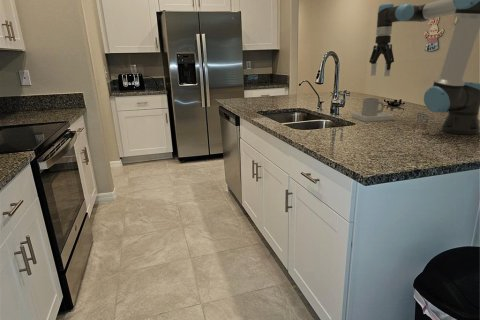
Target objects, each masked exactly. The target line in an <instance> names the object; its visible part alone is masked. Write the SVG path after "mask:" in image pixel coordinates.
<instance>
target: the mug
mask: <svg viewBox="0 0 480 320" xmlns="http://www.w3.org/2000/svg"><path fill="white" fill-rule="evenodd" d="M379 105H381V108H380V110H379ZM361 112H362V116H366V117H372V116H377V113H381V112H384V102H383V101H380V100H379V98H375V97H366V98H363V101H362V110H361Z"/></svg>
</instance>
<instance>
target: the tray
mask: <svg viewBox="0 0 480 320" xmlns="http://www.w3.org/2000/svg"><path fill="white" fill-rule="evenodd" d="M351 118H352V119H354V120H358V121H361V122H364V123H374V122H375V123H377V122H387V121H389V122H390V120H391V121H395V114H390V113H387V112H384V111H382V112H381V113H377V116H372V117H366V116H362V111H361V112H351Z"/></svg>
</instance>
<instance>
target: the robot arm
mask: <svg viewBox="0 0 480 320" xmlns="http://www.w3.org/2000/svg"><path fill="white" fill-rule="evenodd" d="M394 4H395V3H383V4H380V5H379V6H378V10H377V21H376V30H375V31H376V33H375V35H376V37H375V42H374V43H375V44H377V45H373V48H372V52H371V55H370V58H369V63H370V64H371V67H370V69H371V70H370V76H371V77H372V76H376V75H377V64H378V63H377V61H378V60H379V57H380V56H381V55H383V58H384V60H385V64H384V72H383V76H384V77H390V76H391V75H390V74H391V73H390V72H391V65H392V63H395V58H394V52H393V44H391V41H392V40H391V39H392V36H391V35H392V32H393V31H392V29H393V23H397V22H399V23H400V22H418V23H419V22H420V23H421V22H422V23H423V22H428V21H429V20H430V19H431V20H432V19H435V18H441V17H447V16H450V15H455V16H456V19H457V20H456V23H455V25H454V30H453V32H452V36H451V39H450V42H449V45H448V48H447V52H446V55H445V59H444V61H443V65H442V67H441V72H440V74H439V77H438V78H436V79H434V82H433V85H432V86H430V87H429V88H428V89H426V90H425V92H424V95H423V103H424V105H425V106H426V108H427V110H428V111H431V112H432V113H440V114H441V113H442V114H443V113H447V116H446V118H445V119H444V120H443V122H442V125H441V129H440V130H441V131H442V132H444V133H448V134H454V135H464V136H465V135H467V136H468V135H469V136H470V135H478V134H479V133H480V122H479V112H480V82H470V81H463V78H464V75H465V72H466V69H467V66H468V64H469V62H470V58H471V55H472V52H473V49H474V47H475V44H476V43H475V42H476V41H477V38H478V34H479V31H480V0H435V1H432V2H428V3H425V4H420V5H413V4H411V3H403V4H399V5H396V6H395V5H394Z"/></svg>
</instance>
